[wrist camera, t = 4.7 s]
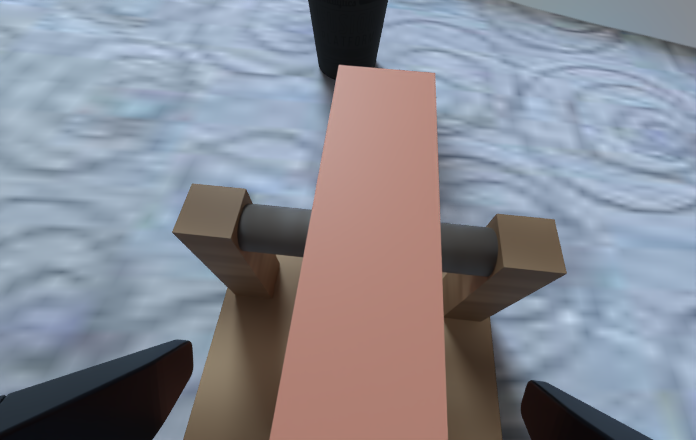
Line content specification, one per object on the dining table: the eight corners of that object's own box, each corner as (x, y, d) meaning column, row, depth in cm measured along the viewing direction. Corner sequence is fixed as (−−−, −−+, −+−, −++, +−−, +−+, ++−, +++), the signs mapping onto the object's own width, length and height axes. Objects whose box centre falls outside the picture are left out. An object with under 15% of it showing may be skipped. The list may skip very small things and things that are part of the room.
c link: (400, 452, 14) (567, 599, 4) (286, 437, 14) (140, 540, 4) (404, 260, 19) (487, 77, 8) (317, 251, 19) (287, 60, 8)
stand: (503, 506, 14) (668, 615, 7) (181, 464, 14) (29, 526, 7) (477, 233, 20) (549, 144, 13) (253, 211, 21) (208, 113, 14)
